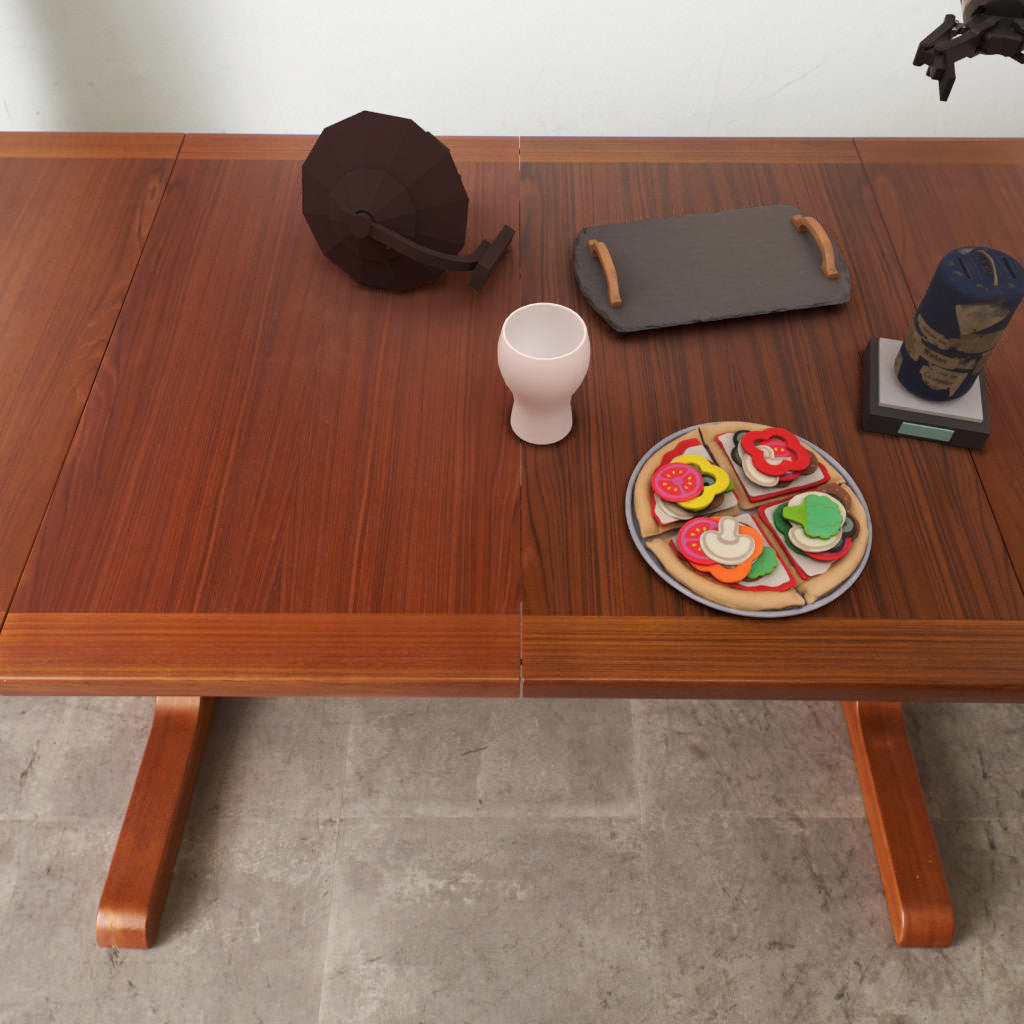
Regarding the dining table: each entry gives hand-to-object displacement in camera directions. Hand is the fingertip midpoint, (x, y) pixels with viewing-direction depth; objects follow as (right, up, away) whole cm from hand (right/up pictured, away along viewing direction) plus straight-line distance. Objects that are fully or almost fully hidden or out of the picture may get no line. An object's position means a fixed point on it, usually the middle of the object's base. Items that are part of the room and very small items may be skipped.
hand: (1010, 97), depth 101 cm
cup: (-53, -36, +11) cm, 65 cm away
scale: (-4, -33, +13) cm, 35 cm away
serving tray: (-28, -13, +28) cm, 42 cm away
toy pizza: (-30, -48, +2) cm, 56 cm away
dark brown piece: (-69, -9, +31) cm, 76 cm away
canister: (-4, -30, +10) cm, 33 cm away
